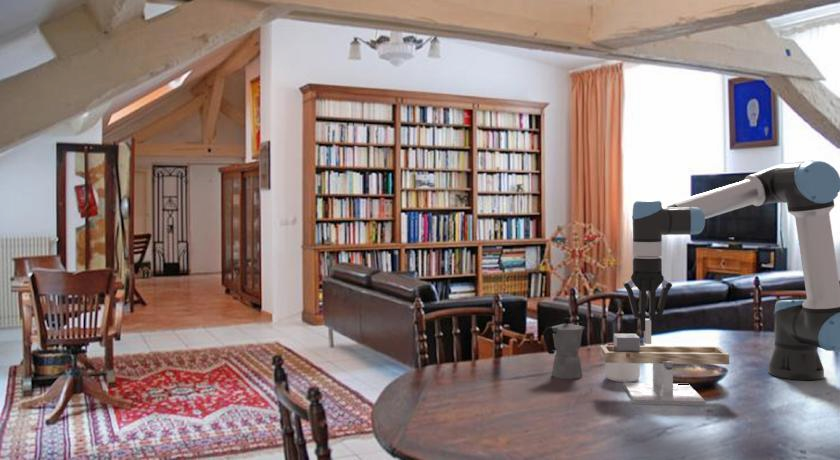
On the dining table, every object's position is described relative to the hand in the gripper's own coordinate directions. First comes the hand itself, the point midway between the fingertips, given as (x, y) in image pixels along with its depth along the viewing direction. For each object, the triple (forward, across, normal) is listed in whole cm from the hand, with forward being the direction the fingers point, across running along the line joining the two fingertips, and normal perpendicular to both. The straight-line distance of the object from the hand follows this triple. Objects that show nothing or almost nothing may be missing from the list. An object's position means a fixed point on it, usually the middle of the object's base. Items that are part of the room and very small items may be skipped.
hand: (647, 342), depth 196 cm
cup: (+15, +4, -18) cm, 24 cm away
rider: (+3, +6, 0) cm, 6 cm away
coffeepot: (+15, +21, -20) cm, 32 cm away
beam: (+5, -4, 0) cm, 6 cm away
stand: (+15, -4, 0) cm, 15 cm away
